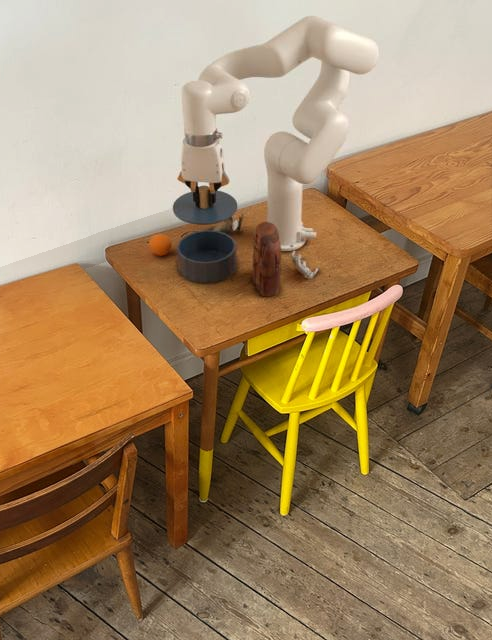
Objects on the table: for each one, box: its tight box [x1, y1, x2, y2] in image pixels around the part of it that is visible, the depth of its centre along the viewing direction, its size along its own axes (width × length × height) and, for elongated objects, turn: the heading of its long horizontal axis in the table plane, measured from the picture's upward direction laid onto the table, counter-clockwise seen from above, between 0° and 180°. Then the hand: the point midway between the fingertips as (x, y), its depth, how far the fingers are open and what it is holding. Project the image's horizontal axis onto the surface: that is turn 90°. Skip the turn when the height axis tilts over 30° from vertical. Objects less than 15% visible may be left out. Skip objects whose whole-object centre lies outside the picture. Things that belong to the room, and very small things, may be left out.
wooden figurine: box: [252, 221, 282, 297], centre depth 189 cm, size 12×6×18 cm, turn 16°
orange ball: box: [149, 233, 172, 257], centre depth 204 cm, size 6×6×6 cm
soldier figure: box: [289, 250, 319, 282], centre depth 198 cm, size 8×5×12 cm
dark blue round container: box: [176, 229, 238, 284], centre depth 200 cm, size 16×16×6 cm
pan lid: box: [172, 184, 238, 226], centre depth 186 cm, size 16×16×6 cm
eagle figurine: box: [210, 212, 245, 234], centre depth 213 cm, size 8×7×9 cm
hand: (204, 204), depth 187 cm, fingers closed on pan lid, 2 cm apart
